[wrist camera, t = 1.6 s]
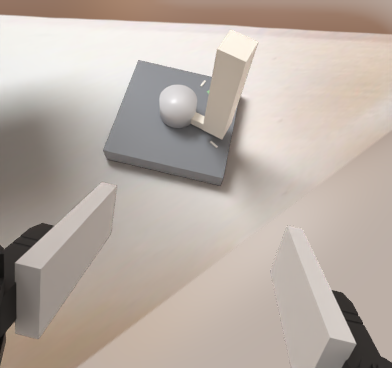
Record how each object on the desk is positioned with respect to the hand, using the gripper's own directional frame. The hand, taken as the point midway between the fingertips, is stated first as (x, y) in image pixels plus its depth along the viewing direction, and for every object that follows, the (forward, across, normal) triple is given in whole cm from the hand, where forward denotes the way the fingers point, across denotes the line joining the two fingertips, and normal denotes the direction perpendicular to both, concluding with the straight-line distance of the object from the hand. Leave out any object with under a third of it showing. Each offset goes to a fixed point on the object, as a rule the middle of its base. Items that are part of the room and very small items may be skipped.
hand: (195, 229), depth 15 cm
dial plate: (+24, -4, 0) cm, 24 cm away
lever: (+22, -3, +1) cm, 22 cm away
